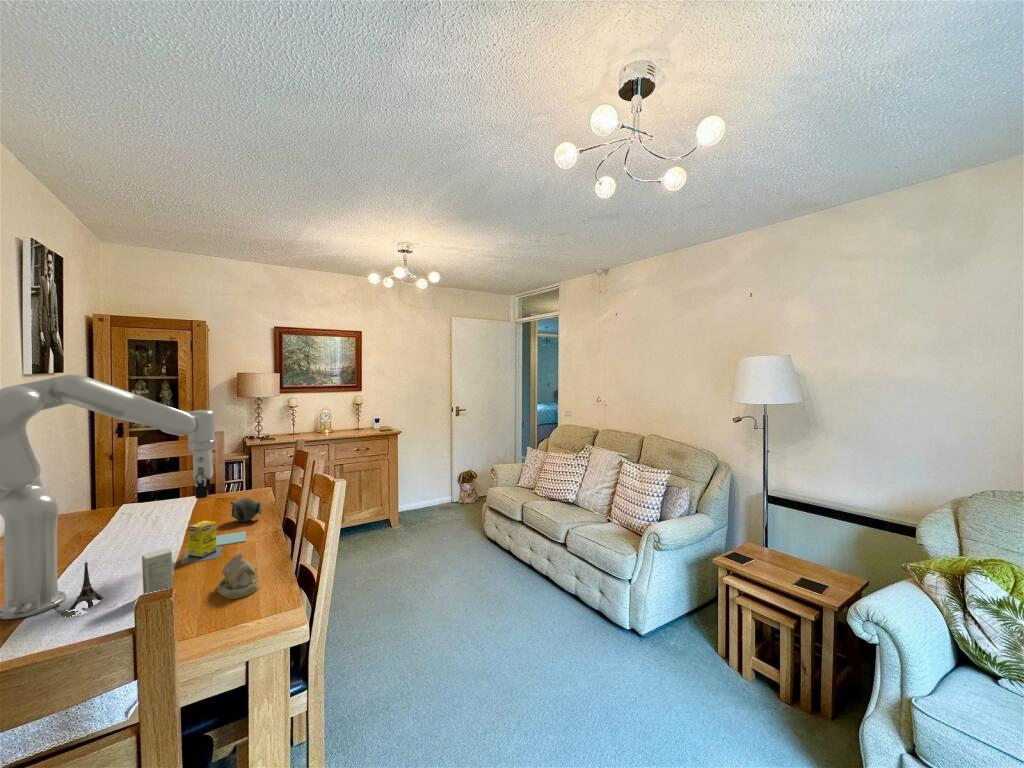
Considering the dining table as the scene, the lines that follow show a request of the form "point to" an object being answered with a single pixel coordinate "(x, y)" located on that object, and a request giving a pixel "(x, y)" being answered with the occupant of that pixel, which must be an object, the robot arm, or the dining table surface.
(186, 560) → the card
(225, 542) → the rubber mat
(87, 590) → the eiffel tower figurine
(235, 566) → the ceramic model
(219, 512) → the dining table surface
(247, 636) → the dining table surface
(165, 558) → the skincare box
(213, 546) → the supplement box
